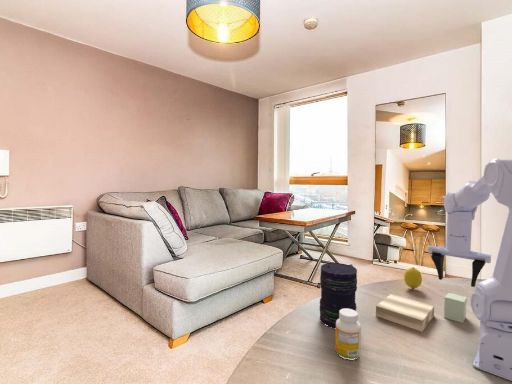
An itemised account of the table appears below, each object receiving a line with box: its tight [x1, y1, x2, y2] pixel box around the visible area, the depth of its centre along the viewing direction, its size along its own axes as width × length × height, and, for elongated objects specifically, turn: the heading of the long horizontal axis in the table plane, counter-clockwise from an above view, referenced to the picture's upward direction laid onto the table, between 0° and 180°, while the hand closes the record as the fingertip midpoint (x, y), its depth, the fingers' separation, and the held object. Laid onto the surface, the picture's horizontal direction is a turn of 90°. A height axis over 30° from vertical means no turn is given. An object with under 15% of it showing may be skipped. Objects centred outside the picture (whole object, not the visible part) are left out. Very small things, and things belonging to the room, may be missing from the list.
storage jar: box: [319, 262, 358, 329], centre depth 79 cm, size 10×10×15 cm
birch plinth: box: [375, 293, 435, 333], centre depth 82 cm, size 12×12×3 cm
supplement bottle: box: [334, 308, 362, 359], centre depth 64 cm, size 5×5×10 cm
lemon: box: [403, 266, 423, 290], centre depth 102 cm, size 6×6×8 cm
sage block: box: [443, 292, 468, 324], centre depth 82 cm, size 4×4×6 cm
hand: (456, 282), depth 81 cm, fingers open, 7 cm apart
